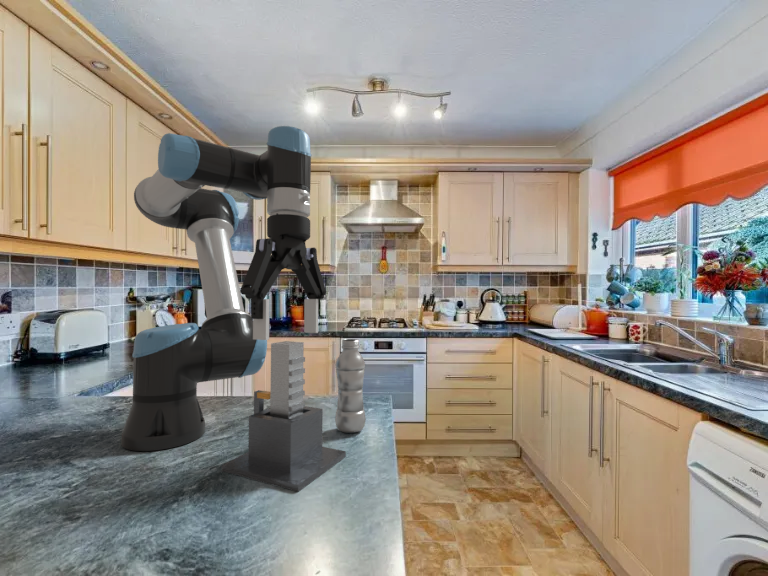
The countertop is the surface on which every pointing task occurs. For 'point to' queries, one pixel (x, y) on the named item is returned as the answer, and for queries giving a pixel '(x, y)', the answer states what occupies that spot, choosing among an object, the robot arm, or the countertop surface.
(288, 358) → the column
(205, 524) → the countertop surface
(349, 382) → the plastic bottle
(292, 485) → the stand
